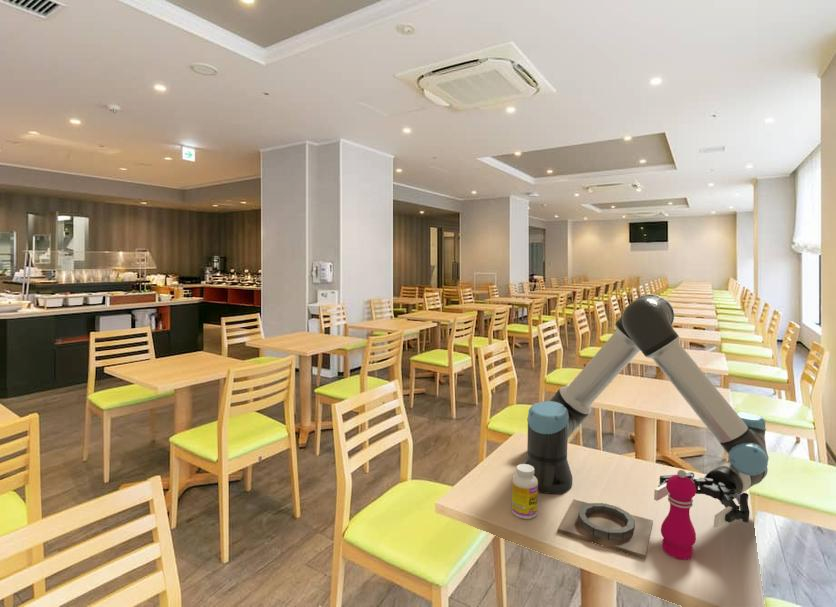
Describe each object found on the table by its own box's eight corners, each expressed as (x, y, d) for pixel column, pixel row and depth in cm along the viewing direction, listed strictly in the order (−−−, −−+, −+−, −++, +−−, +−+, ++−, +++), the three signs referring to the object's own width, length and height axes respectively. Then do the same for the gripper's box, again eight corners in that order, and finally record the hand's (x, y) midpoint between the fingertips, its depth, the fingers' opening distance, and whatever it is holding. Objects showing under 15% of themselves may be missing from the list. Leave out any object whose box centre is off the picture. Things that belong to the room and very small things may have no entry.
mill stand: (557, 532, 118) (557, 521, 118) (573, 502, 131) (573, 492, 131) (645, 559, 107) (646, 547, 107) (652, 523, 121) (653, 513, 121)
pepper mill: (657, 554, 109) (662, 472, 107) (661, 538, 115) (666, 460, 113) (693, 565, 105) (699, 481, 103) (695, 548, 111) (701, 468, 109)
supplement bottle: (530, 523, 122) (531, 476, 120) (507, 514, 126) (508, 468, 124) (541, 511, 127) (542, 466, 125) (519, 503, 131) (519, 459, 130)
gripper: (784, 518, 111) (743, 551, 99) (677, 475, 131) (633, 499, 120) (786, 488, 110) (746, 518, 98) (678, 450, 130) (634, 471, 119)
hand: (684, 507), depth 109 cm, fingers open, 13 cm apart
